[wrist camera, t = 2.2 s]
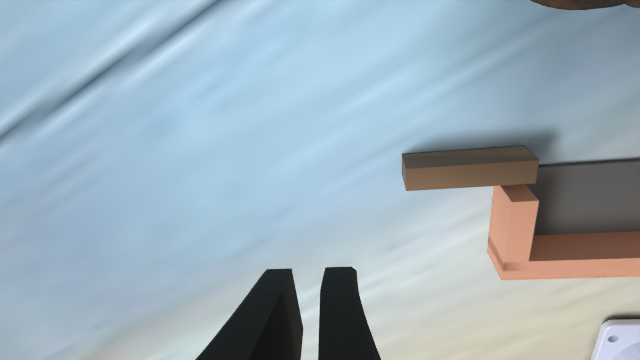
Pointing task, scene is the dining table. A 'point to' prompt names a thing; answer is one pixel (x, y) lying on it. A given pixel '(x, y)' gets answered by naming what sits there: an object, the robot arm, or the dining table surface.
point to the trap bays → (569, 223)
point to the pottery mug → (586, 4)
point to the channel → (469, 168)
